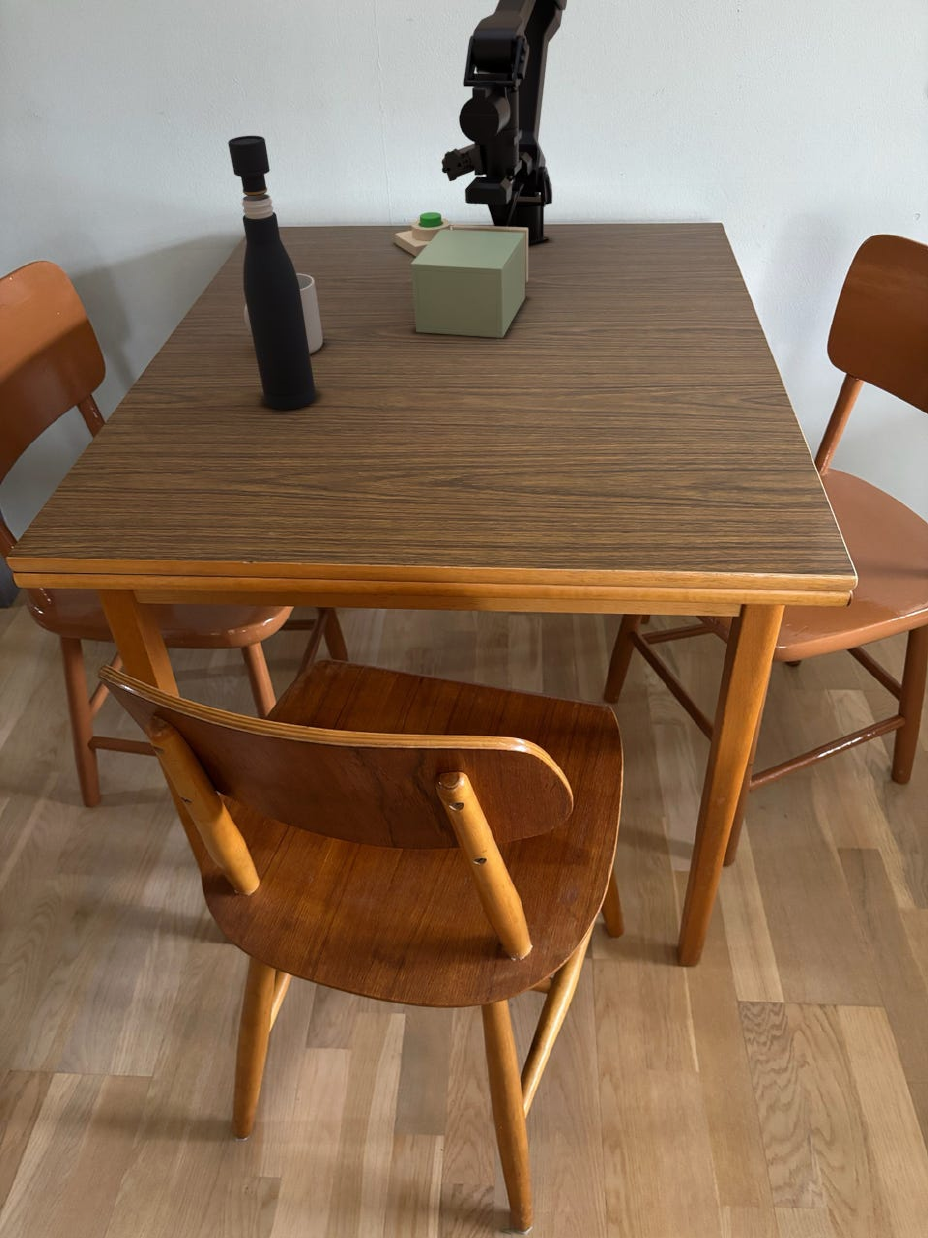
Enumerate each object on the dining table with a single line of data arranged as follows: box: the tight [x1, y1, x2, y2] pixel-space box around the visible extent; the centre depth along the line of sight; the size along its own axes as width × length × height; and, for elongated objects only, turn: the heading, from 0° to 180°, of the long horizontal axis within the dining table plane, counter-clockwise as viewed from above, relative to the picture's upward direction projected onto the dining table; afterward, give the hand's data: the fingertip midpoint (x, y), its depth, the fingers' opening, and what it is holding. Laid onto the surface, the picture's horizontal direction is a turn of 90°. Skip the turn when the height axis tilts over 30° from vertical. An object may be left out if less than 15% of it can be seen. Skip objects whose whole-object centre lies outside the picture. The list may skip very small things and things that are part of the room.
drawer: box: [452, 224, 529, 284], centre depth 142 cm, size 17×11×8 cm, turn 165°
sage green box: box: [410, 229, 526, 339], centre depth 136 cm, size 15×13×10 cm
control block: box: [394, 217, 454, 258], centre depth 163 cm, size 10×8×4 cm
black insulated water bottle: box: [227, 135, 317, 411], centre depth 111 cm, size 6×6×30 cm
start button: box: [419, 211, 442, 228], centre depth 161 cm, size 4×4×2 cm
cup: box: [243, 273, 324, 355], centre depth 130 cm, size 7×10×9 cm
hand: (500, 235), depth 149 cm, fingers closed
